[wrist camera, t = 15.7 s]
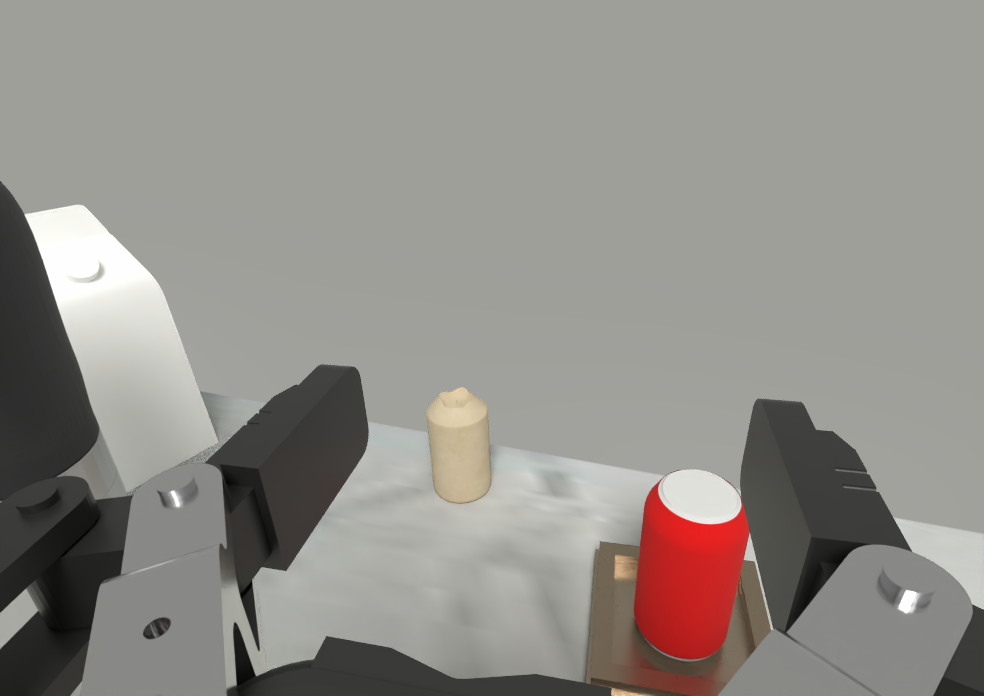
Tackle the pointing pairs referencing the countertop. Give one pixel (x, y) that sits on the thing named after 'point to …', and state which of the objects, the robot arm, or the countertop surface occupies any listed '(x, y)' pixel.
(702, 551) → the beverage can
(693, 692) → the tray
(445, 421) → the candle
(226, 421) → the countertop surface
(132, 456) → the milk
